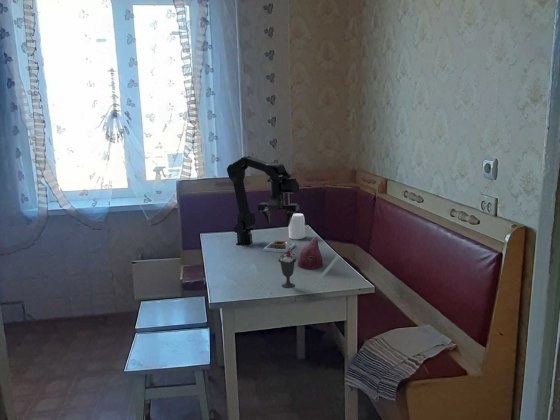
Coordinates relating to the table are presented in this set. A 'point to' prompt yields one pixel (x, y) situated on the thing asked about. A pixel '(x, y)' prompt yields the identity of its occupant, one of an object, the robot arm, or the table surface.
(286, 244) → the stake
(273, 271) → the table surface
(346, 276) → the table surface
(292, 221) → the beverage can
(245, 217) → the robot arm
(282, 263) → the sundae
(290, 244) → the tray
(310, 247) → the vegetable
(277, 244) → the ring
